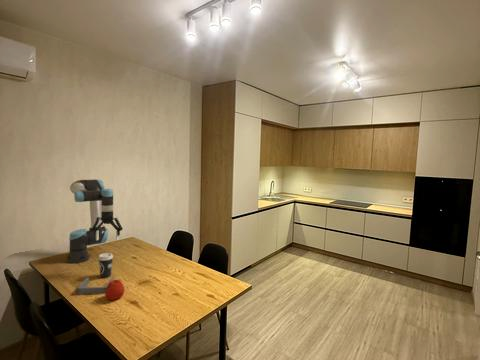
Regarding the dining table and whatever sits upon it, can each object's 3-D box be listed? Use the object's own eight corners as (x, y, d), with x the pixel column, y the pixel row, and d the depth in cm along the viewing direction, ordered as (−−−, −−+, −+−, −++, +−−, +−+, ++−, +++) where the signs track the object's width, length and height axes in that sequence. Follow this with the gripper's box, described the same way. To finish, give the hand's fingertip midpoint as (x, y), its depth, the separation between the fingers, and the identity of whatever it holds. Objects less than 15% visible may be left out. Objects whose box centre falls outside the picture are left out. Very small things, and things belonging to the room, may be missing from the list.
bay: (87, 282, 170) (86, 277, 170) (113, 282, 172) (113, 277, 172) (76, 294, 156) (76, 288, 156) (105, 293, 158) (105, 287, 158)
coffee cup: (106, 280, 175) (106, 258, 174) (94, 278, 177) (94, 256, 176) (116, 274, 184) (116, 253, 183) (104, 272, 186) (104, 251, 185)
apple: (111, 304, 147) (111, 286, 146) (101, 298, 152) (101, 281, 152) (127, 296, 156) (127, 279, 155) (117, 291, 161) (117, 275, 160)
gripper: (86, 211, 180) (86, 241, 181) (123, 212, 182) (123, 241, 184) (91, 209, 187) (91, 238, 189) (127, 210, 190) (127, 238, 192)
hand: (107, 240), depth 187 cm, fingers open, 13 cm apart
